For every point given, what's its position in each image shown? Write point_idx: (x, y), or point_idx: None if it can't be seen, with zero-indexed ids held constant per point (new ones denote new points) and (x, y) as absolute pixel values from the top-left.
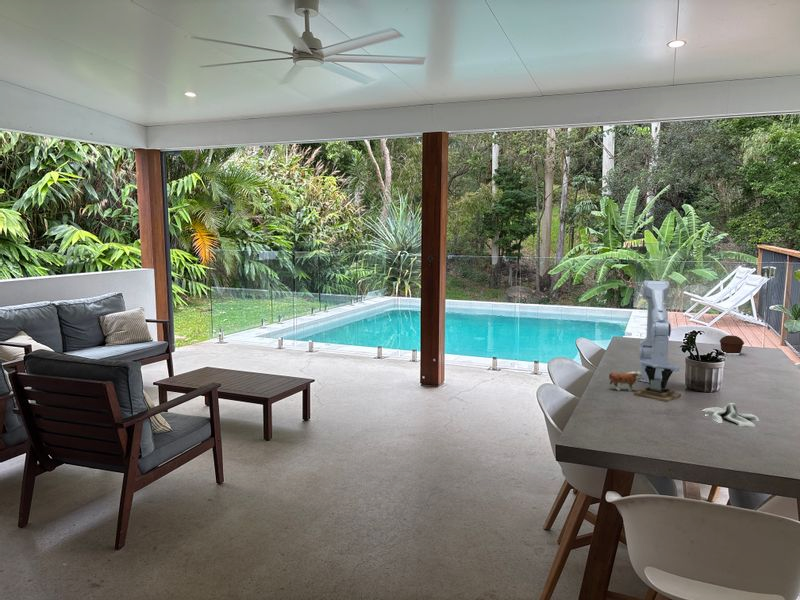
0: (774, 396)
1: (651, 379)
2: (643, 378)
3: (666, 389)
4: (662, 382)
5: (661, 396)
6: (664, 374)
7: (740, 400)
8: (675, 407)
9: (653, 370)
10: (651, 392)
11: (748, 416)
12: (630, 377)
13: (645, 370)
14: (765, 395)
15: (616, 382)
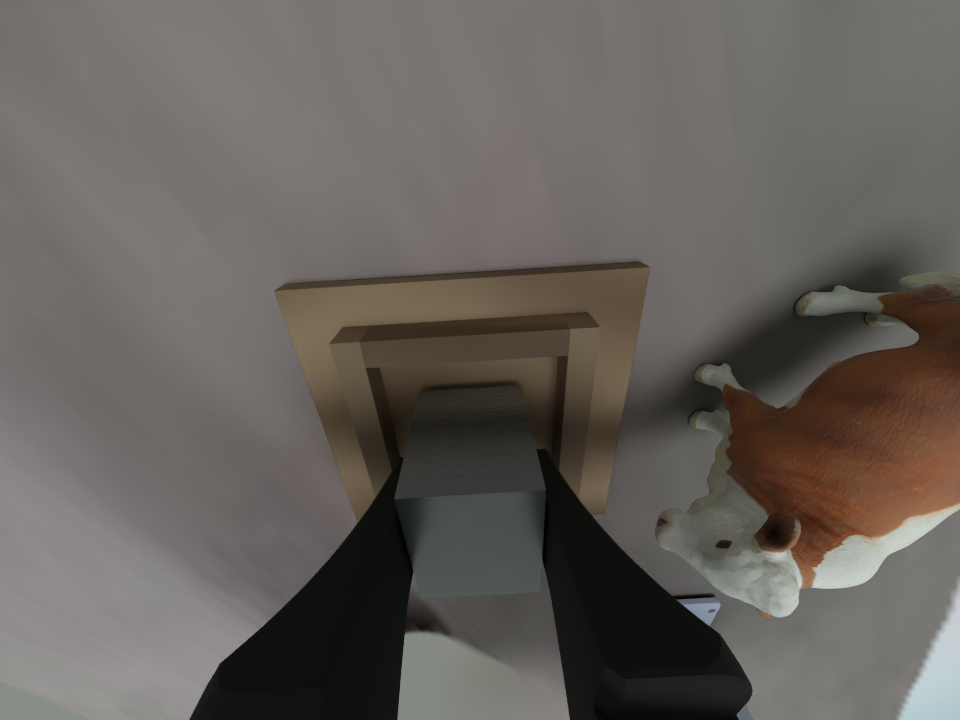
0: (160, 715)
1: (541, 505)
2: (662, 525)
3: None
4: (393, 505)
5: (364, 329)
6: (298, 638)
7: (141, 624)
8: (63, 122)
9: (578, 696)
10: (472, 332)
11: None
12: (831, 455)
13: (706, 633)
14: (185, 710)
15: (951, 308)
